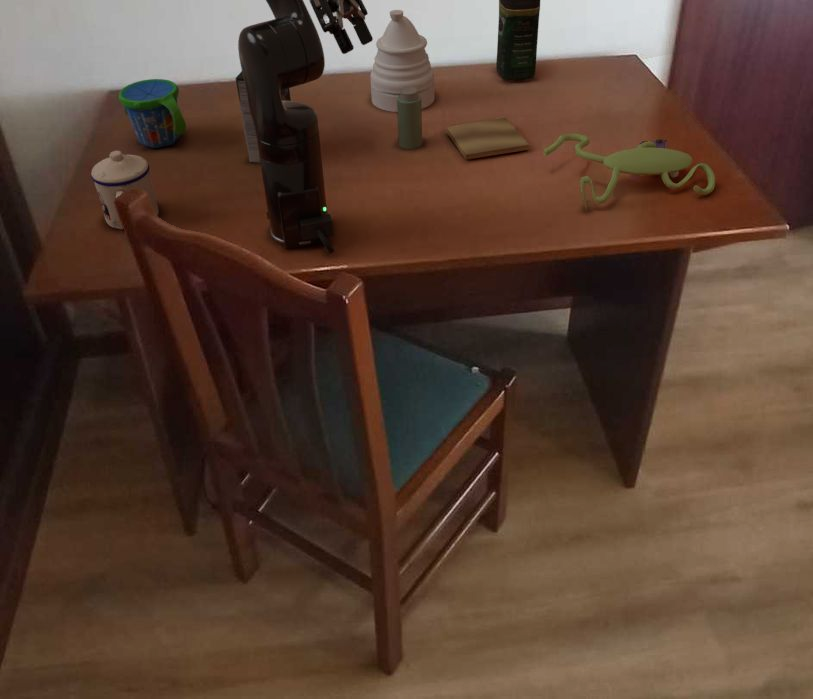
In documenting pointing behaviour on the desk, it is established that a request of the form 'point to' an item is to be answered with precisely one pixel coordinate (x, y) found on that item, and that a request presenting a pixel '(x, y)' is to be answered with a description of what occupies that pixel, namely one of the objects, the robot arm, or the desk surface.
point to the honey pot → (401, 64)
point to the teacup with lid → (121, 182)
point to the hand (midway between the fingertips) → (358, 47)
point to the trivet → (486, 138)
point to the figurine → (638, 164)
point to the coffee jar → (517, 39)
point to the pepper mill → (409, 118)
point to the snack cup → (153, 111)
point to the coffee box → (247, 118)
